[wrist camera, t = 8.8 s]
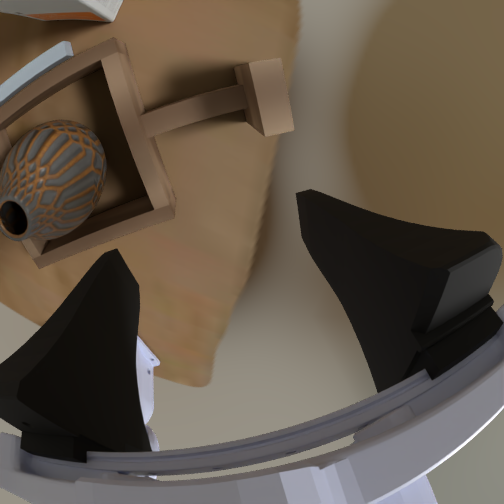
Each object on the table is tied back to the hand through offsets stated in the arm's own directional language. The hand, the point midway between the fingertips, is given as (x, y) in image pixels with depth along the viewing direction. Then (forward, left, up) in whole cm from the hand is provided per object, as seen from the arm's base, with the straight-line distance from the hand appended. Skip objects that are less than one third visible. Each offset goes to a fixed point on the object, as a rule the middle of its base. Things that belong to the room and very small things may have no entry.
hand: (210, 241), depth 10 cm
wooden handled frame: (+4, +4, -10) cm, 12 cm away
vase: (+4, +9, -10) cm, 14 cm away
